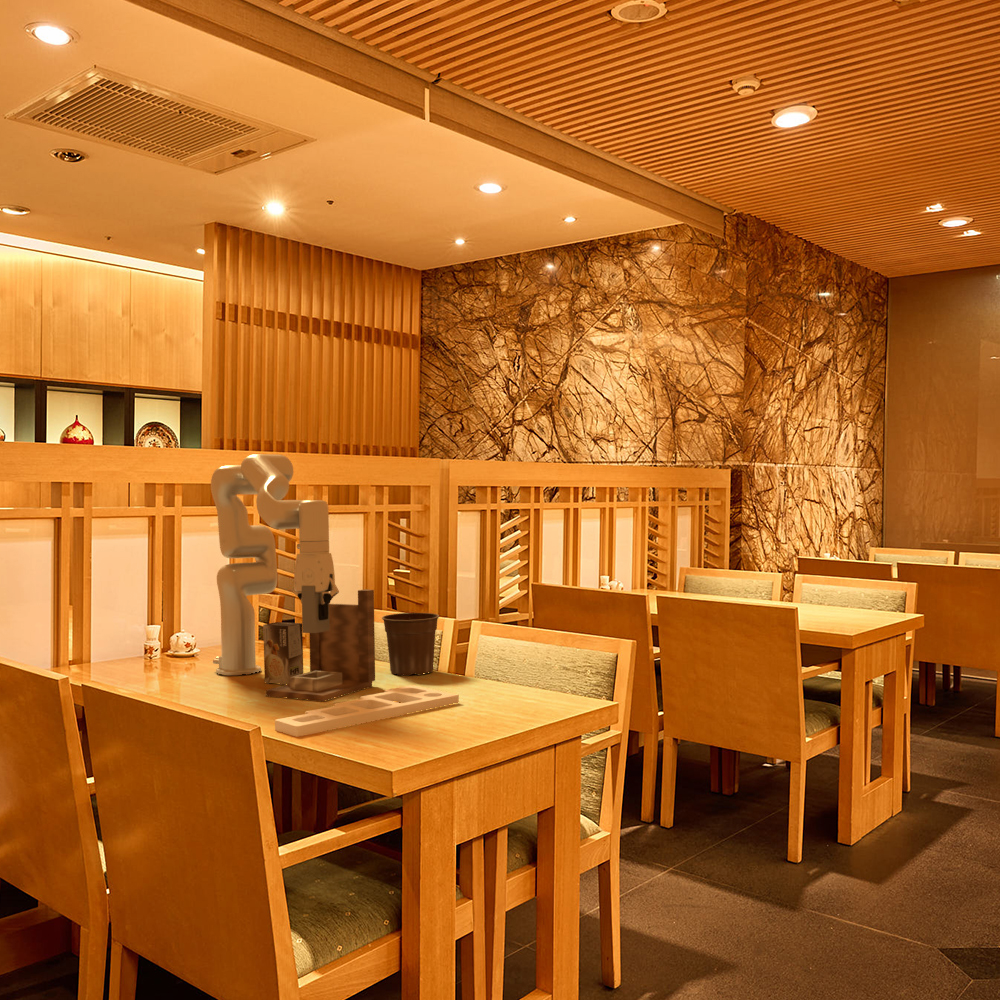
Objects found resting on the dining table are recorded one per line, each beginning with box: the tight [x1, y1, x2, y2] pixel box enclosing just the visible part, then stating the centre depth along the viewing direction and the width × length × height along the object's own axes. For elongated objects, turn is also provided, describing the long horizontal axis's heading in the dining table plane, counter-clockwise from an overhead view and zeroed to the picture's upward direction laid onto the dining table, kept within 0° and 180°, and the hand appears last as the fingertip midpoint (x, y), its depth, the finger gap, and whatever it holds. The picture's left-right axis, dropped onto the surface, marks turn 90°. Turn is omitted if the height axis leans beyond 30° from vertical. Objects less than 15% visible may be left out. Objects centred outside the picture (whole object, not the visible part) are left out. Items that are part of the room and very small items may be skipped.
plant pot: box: [381, 612, 440, 676], centre depth 278 cm, size 16×16×16 cm
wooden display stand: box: [265, 589, 376, 702], centre depth 253 cm, size 19×22×26 cm
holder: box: [274, 684, 460, 738], centre depth 225 cm, size 45×18×3 cm, turn 134°
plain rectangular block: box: [301, 586, 330, 634], centre depth 251 cm, size 4×6×12 cm, turn 153°
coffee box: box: [262, 621, 304, 685], centre depth 266 cm, size 9×6×16 cm
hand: (316, 618), depth 251 cm, fingers closed on plain rectangular block, 4 cm apart
